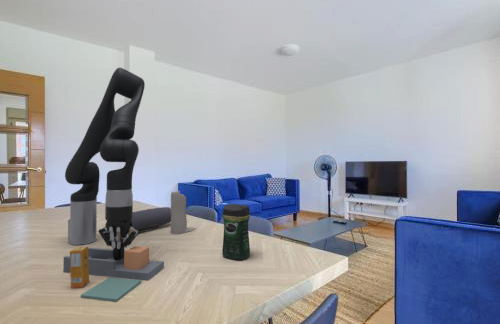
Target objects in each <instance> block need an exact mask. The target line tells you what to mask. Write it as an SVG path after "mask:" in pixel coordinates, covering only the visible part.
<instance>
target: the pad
mask: <svg viewBox="0 0 500 324" xmlns="http://www.w3.org/2000/svg"><path fill="white" fill-rule="evenodd" d="M141 283H142V280H138V279H128V278H118V277H108V278H106V279H105V280H103V281H101V282H99V283H98V284H95V285H94V286H93V287H92V288H89V289H88V290H87V291H85V292H83V293H82V294H80V298H83V299H91V300H92V299H93V300H97V301H105V302H106V301H109V302H114V303H115V302H118V301H120V300H121V299H122V298H123V297H125V296H127V294H129V293H131V291H132V290H134V289H135V288H136V287H138V286H139V285H140V284H141Z"/></svg>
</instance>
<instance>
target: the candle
mask: <svg viewBox="0 0 500 324" xmlns="http://www.w3.org/2000/svg"><path fill="white" fill-rule="evenodd" d="M170 193H171V194H170V208H171V222H170V234H172V235H182V234H185V233H188V232H192V231H194V230H196V229H197V228H196V227H193V226H191V227H188V221H187V220H188V219H187V196H185V195H184V194H183V193H181V191H180V190H176V191H171V192H170Z"/></svg>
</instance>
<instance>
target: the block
mask: <svg viewBox="0 0 500 324" xmlns="http://www.w3.org/2000/svg"><path fill="white" fill-rule="evenodd" d="M149 260H150V247H149V246H138V245H134V246H132V247H130V248H129V249H126V250H125V251H124V268H126V269H137V270H140V269H141V268H143V267H144V266H146V265H147V264H149Z"/></svg>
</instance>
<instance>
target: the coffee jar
mask: <svg viewBox="0 0 500 324" xmlns="http://www.w3.org/2000/svg"><path fill="white" fill-rule="evenodd" d="M250 212H251V211H250V207H249V205H246V204H239V203H229V204H225V205H223V209H222V220H223V236H222V237H223V239H222V249H221V250H222V251H221V252H222V253H221V255H222V256H223V257H224V258H227V259H232V260H237V261H241V260H244V259H248V258H249V256H250V255H251V246H250V236H249V221H250V218H251V213H250Z"/></svg>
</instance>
